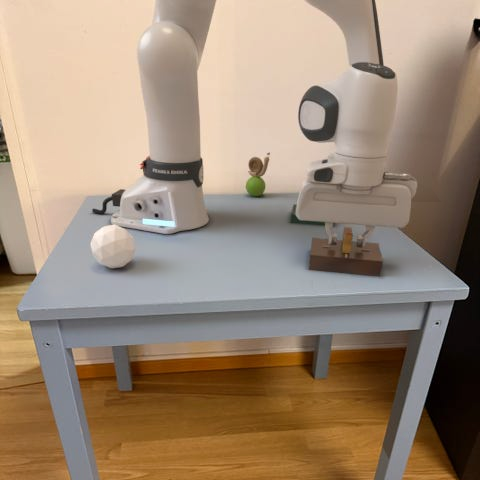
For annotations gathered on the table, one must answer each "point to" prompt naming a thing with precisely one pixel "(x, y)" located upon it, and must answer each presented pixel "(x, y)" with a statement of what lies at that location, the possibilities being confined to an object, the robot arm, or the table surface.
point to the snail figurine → (256, 176)
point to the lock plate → (345, 258)
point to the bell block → (296, 220)
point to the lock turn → (347, 240)
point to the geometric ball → (113, 246)
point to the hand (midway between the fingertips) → (346, 245)
